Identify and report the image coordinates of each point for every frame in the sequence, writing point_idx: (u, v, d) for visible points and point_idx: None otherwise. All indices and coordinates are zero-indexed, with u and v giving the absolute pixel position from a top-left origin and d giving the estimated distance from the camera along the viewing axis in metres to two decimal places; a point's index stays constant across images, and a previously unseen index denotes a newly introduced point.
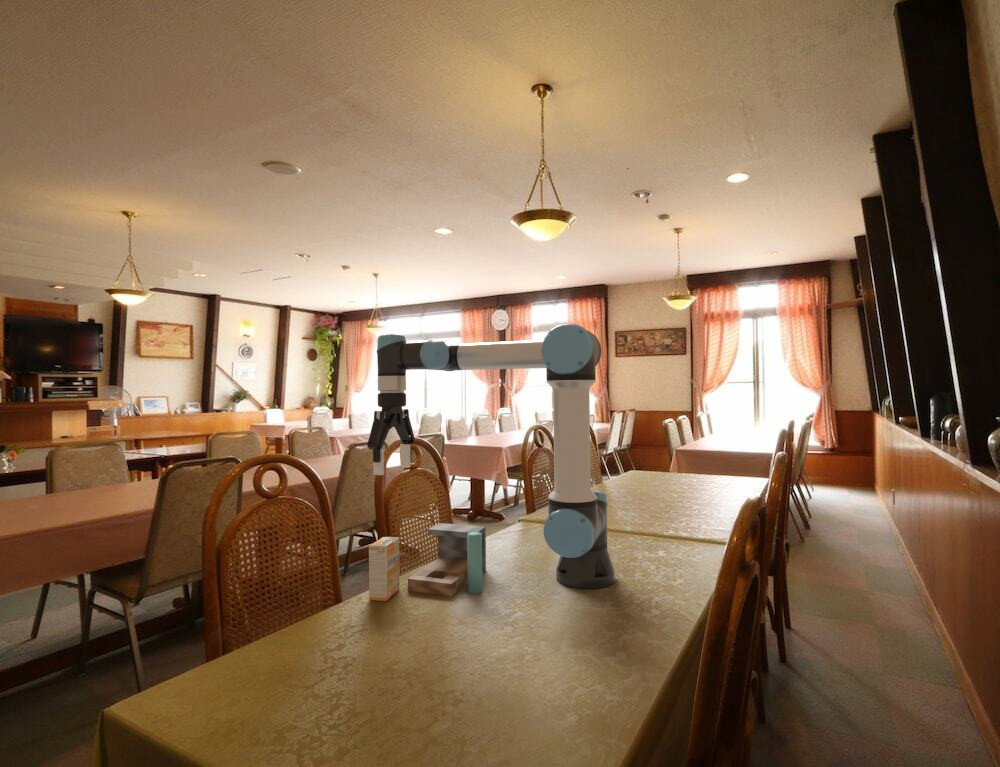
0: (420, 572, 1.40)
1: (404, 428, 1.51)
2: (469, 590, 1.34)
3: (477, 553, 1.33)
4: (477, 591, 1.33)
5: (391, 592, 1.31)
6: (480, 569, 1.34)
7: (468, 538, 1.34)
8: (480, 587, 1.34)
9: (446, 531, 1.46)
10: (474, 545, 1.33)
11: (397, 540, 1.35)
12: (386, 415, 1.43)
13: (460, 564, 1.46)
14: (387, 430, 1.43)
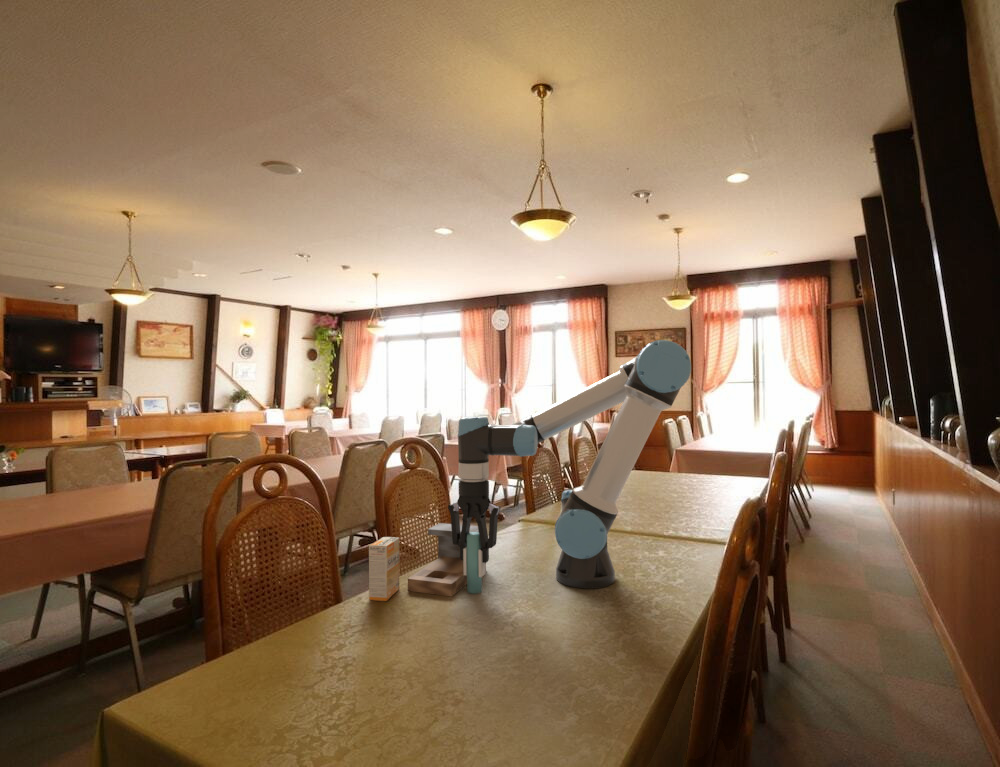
0: (420, 572, 1.40)
1: (480, 526, 1.33)
2: (468, 590, 1.34)
3: (476, 553, 1.33)
4: (476, 591, 1.33)
5: (391, 592, 1.31)
6: None
7: (468, 538, 1.34)
8: (479, 587, 1.34)
9: (446, 531, 1.46)
10: (473, 545, 1.33)
11: (397, 540, 1.35)
12: (458, 505, 1.36)
13: (460, 564, 1.46)
14: (464, 524, 1.35)
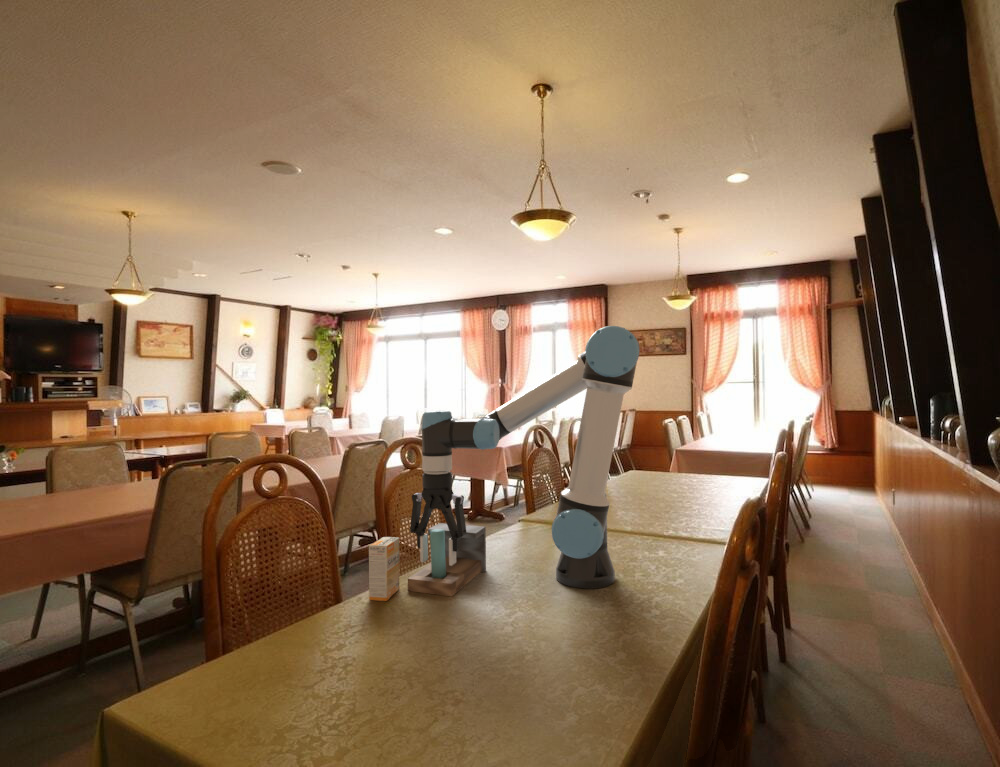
0: (420, 572, 1.40)
1: (446, 516, 1.36)
2: None
3: (440, 549, 1.37)
4: None
5: (391, 592, 1.31)
6: (443, 565, 1.37)
7: (431, 535, 1.37)
8: None
9: (446, 531, 1.46)
10: (436, 542, 1.37)
11: (397, 540, 1.35)
12: (422, 496, 1.39)
13: (460, 564, 1.46)
14: (424, 514, 1.38)
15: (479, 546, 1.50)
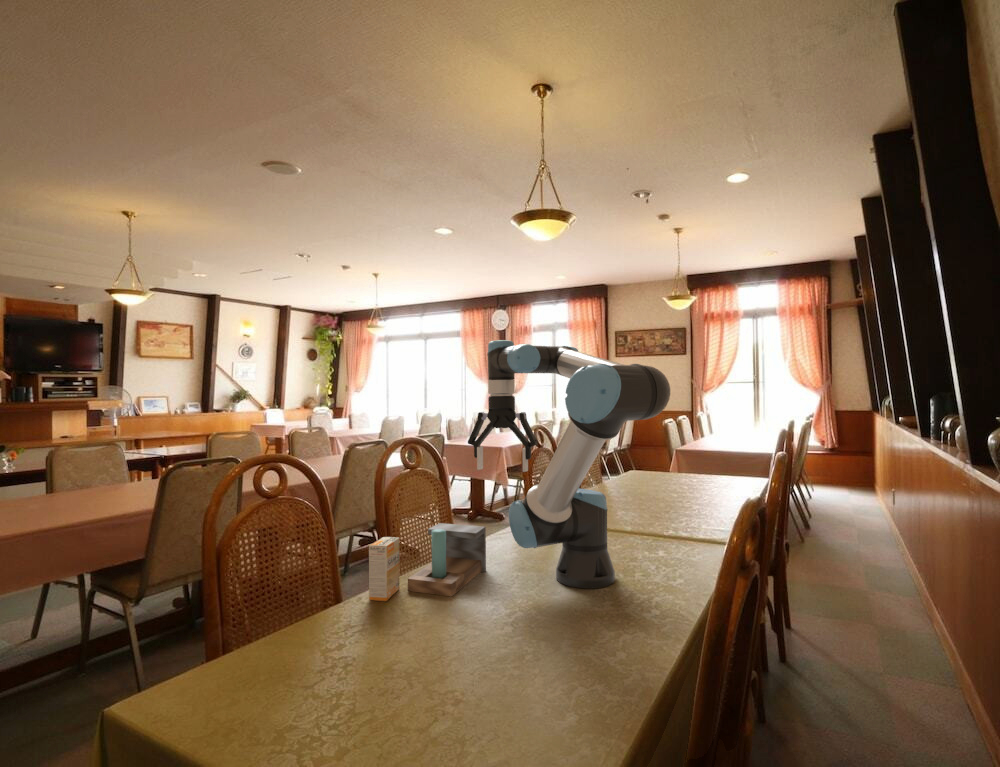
0: (420, 572, 1.40)
1: (515, 431, 1.52)
2: None
3: (440, 549, 1.37)
4: None
5: (391, 592, 1.31)
6: (444, 565, 1.37)
7: (432, 535, 1.37)
8: None
9: (446, 531, 1.46)
10: (437, 542, 1.36)
11: (397, 540, 1.35)
12: (487, 416, 1.56)
13: (460, 564, 1.46)
14: (486, 430, 1.55)
15: (479, 546, 1.50)
